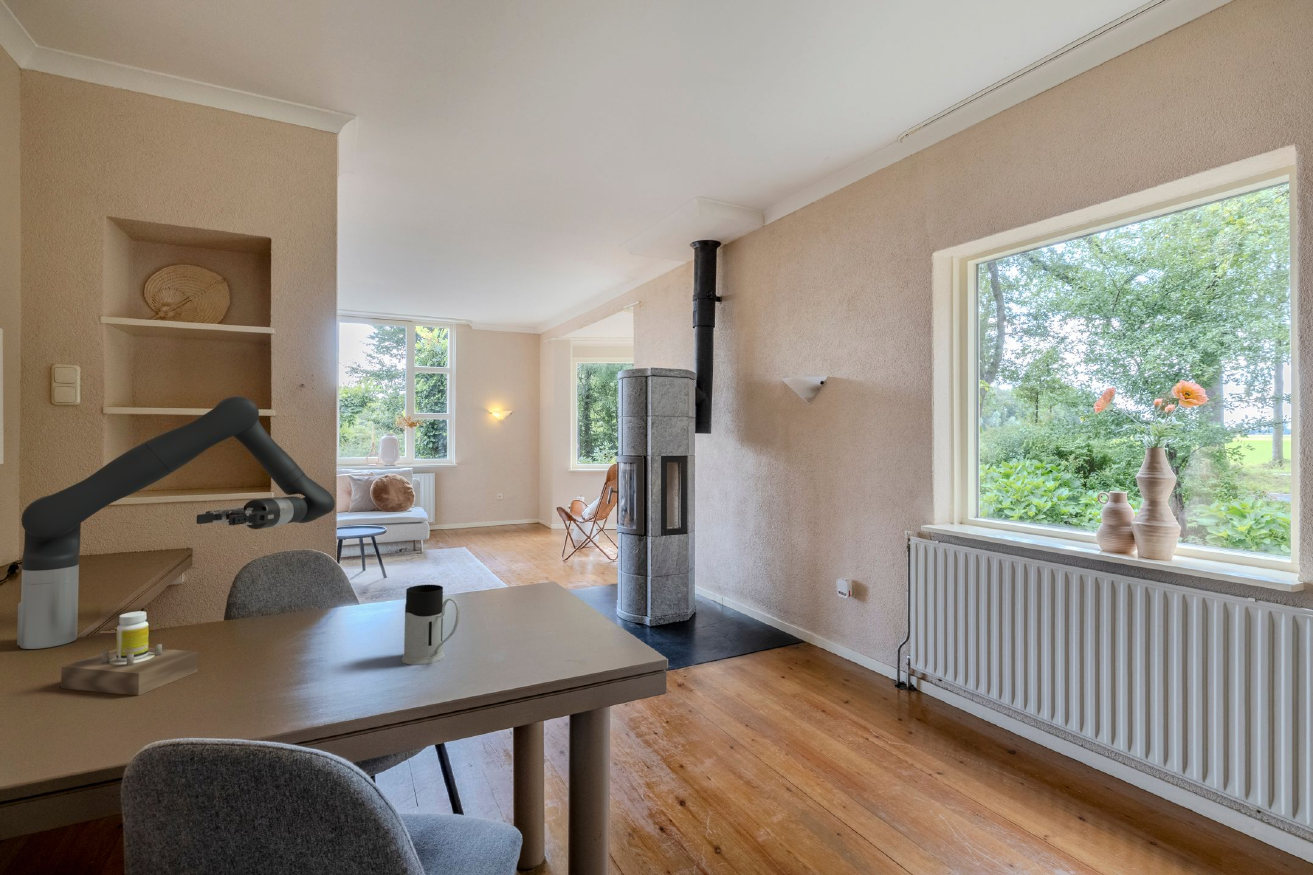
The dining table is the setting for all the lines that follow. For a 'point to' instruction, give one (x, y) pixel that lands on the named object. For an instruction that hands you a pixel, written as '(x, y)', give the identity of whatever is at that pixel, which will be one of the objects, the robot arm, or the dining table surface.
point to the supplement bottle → (132, 635)
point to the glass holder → (425, 624)
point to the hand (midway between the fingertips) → (213, 520)
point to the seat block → (129, 671)
